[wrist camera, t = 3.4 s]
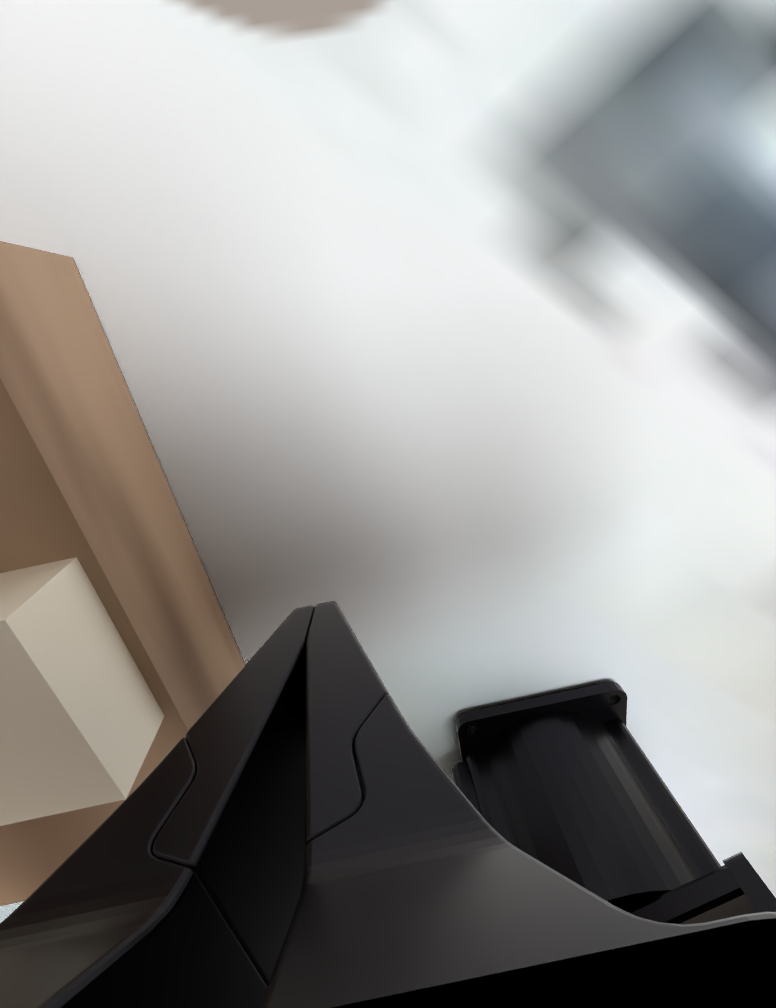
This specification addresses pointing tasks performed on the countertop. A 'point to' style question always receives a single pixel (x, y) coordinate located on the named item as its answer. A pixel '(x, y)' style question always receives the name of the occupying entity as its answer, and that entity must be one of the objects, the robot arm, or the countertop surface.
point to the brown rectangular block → (95, 524)
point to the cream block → (66, 697)
